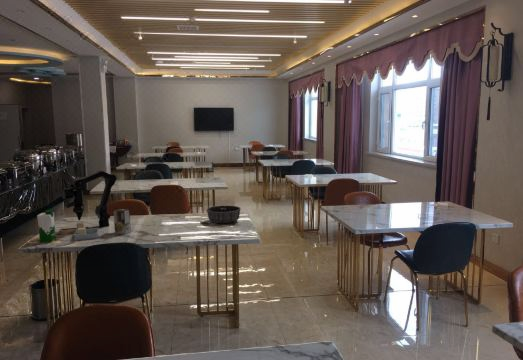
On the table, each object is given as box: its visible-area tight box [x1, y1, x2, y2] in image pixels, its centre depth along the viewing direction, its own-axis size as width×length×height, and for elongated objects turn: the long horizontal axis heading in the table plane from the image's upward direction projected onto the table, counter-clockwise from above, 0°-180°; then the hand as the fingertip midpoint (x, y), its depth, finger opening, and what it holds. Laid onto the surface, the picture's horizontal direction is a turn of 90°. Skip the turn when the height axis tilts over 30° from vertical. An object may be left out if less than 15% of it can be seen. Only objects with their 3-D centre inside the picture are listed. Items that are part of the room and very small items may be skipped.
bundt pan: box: [205, 205, 242, 224], centre depth 335 cm, size 26×26×10 cm
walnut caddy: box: [57, 226, 90, 236], centre depth 307 cm, size 19×15×1 cm
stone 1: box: [76, 221, 85, 230], centre depth 308 cm, size 4×4×6 cm
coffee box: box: [113, 208, 132, 235], centre depth 303 cm, size 9×6×16 cm
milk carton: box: [36, 209, 56, 243], centre depth 284 cm, size 9×9×20 cm
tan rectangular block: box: [78, 226, 87, 235], centre depth 294 cm, size 4×4×6 cm
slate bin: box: [73, 227, 100, 241], centre depth 295 cm, size 14×14×4 cm
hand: (80, 218), depth 307 cm, fingers open, 9 cm apart
